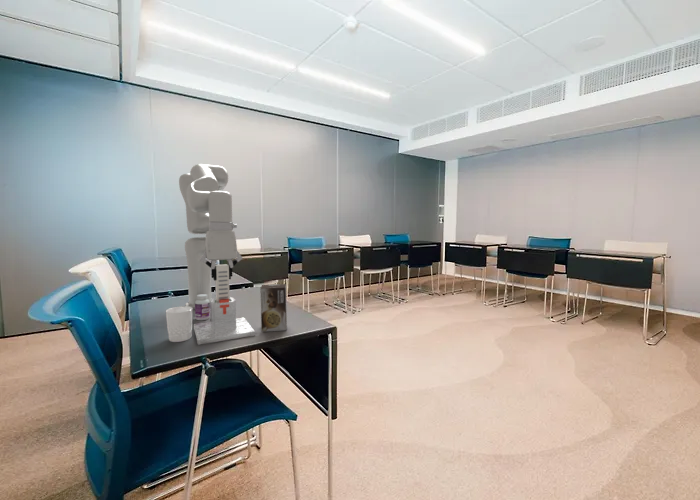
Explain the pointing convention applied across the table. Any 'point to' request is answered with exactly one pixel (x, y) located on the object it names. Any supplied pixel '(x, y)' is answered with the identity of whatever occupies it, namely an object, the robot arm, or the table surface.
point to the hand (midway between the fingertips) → (222, 278)
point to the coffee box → (273, 307)
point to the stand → (222, 323)
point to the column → (222, 282)
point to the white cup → (179, 323)
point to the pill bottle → (202, 307)
